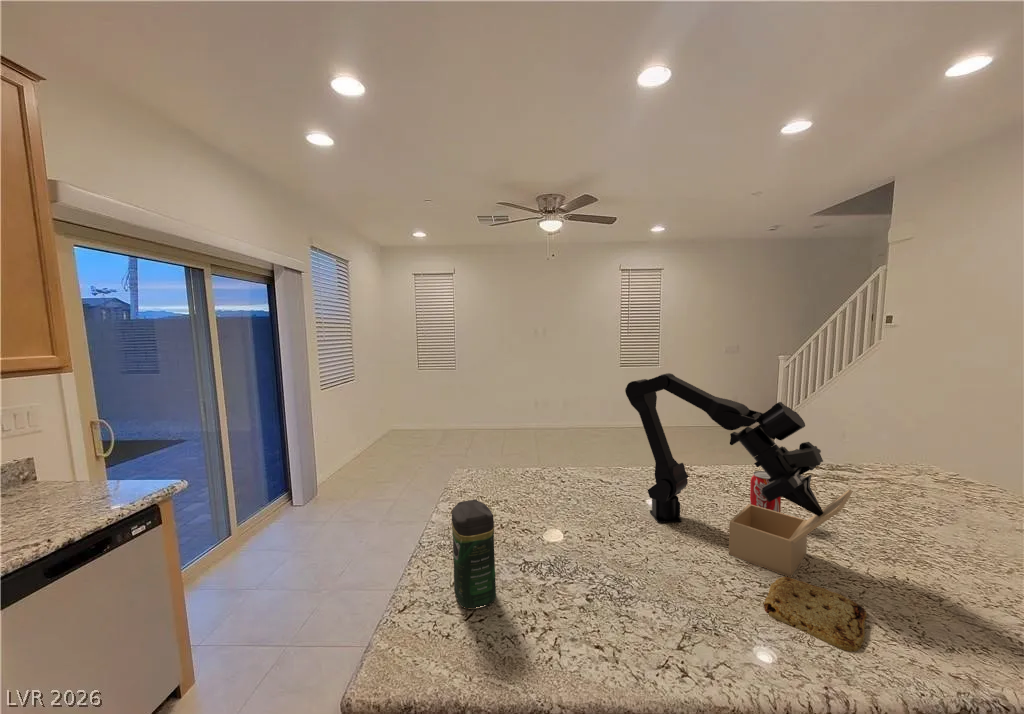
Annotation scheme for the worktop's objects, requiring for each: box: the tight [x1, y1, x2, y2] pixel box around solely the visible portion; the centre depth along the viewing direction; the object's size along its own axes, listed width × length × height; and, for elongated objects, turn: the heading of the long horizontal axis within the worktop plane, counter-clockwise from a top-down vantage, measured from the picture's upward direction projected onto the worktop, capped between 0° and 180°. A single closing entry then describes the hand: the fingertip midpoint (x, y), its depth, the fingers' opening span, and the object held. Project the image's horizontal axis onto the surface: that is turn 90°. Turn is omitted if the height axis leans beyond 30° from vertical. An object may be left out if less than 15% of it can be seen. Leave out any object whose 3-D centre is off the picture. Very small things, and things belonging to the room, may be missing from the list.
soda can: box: [749, 470, 782, 513], centre depth 108 cm, size 7×7×12 cm
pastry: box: [763, 576, 868, 653], centre depth 72 cm, size 17×17×3 cm
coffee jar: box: [451, 499, 497, 609], centre depth 79 cm, size 10×8×19 cm
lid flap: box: [792, 489, 853, 543], centre depth 83 cm, size 12×12×1 cm
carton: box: [728, 503, 808, 578], centre depth 91 cm, size 12×13×8 cm
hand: (821, 514), depth 83 cm, fingers closed, pressing on lid flap
